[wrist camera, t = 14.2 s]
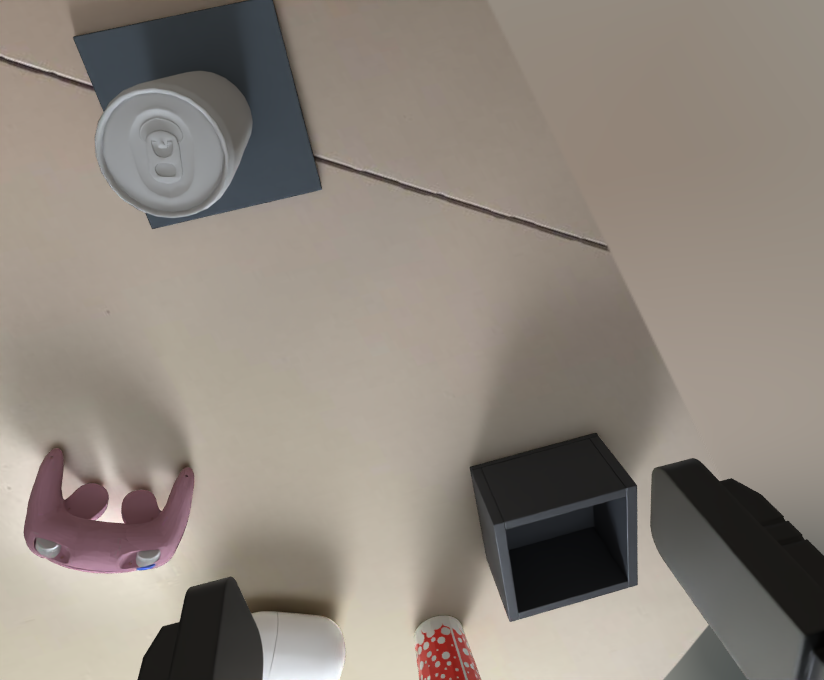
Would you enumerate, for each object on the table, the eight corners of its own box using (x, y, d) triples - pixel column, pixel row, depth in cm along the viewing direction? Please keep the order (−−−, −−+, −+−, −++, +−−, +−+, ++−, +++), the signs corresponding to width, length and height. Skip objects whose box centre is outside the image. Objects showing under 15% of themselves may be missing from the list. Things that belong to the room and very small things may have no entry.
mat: (271, -4, 30) (271, -5, 30) (321, 187, 35) (322, 189, 34) (75, 36, 29) (72, 36, 29) (153, 227, 34) (151, 229, 34)
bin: (596, 432, 47) (637, 485, 41) (600, 526, 52) (637, 585, 46) (469, 466, 46) (493, 525, 41) (486, 559, 51) (509, 622, 46)
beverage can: (249, 71, 31) (226, 84, 20) (257, 165, 33) (239, 221, 23) (153, 68, 30) (76, 80, 20) (167, 164, 32) (104, 222, 22)
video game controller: (50, 469, 42) (10, 571, 37) (44, 440, 38) (-1, 548, 34) (195, 489, 45) (173, 585, 40) (201, 463, 41) (177, 565, 37)
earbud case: (354, 601, 51) (359, 659, 46) (315, 697, 56) (316, 758, 51) (233, 590, 48) (226, 650, 43) (203, 693, 53) (194, 757, 48)
